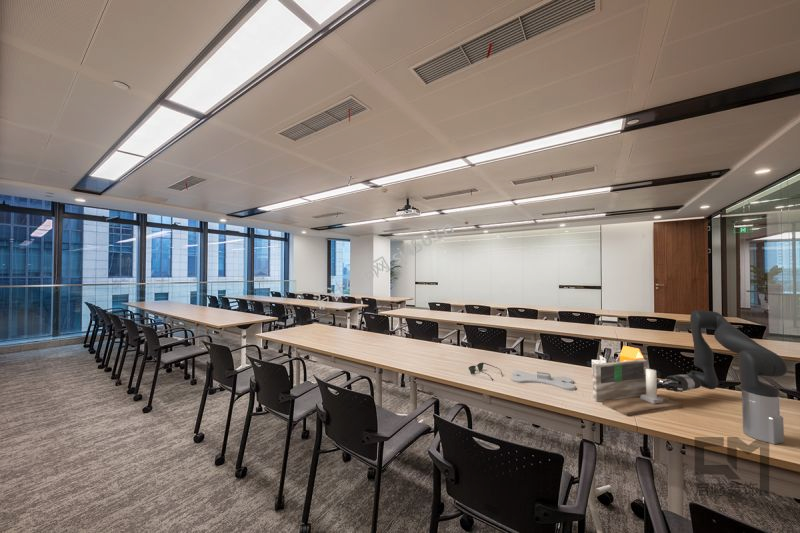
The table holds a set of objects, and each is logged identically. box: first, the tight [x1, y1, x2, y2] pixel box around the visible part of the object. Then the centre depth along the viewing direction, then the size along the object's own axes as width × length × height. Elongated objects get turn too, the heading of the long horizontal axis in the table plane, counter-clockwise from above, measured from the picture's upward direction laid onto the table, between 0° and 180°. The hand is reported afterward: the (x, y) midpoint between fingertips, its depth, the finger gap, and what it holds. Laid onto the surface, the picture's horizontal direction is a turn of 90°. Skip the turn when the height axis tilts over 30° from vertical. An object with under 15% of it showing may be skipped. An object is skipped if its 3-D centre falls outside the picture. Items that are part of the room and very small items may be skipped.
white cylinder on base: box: [634, 368, 663, 404], centre depth 143 cm, size 11×6×15 cm, turn 14°
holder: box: [510, 369, 577, 391], centre depth 172 cm, size 19×34×5 cm, turn 64°
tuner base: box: [591, 358, 683, 417], centre depth 142 cm, size 17×34×18 cm, turn 104°
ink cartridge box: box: [591, 355, 607, 380], centre depth 171 cm, size 9×5×15 cm, turn 168°
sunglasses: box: [468, 362, 504, 381], centre depth 182 cm, size 16×17×5 cm
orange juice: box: [619, 345, 645, 362], centre depth 172 cm, size 8×9×20 cm
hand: (654, 386), depth 142 cm, fingers closed
